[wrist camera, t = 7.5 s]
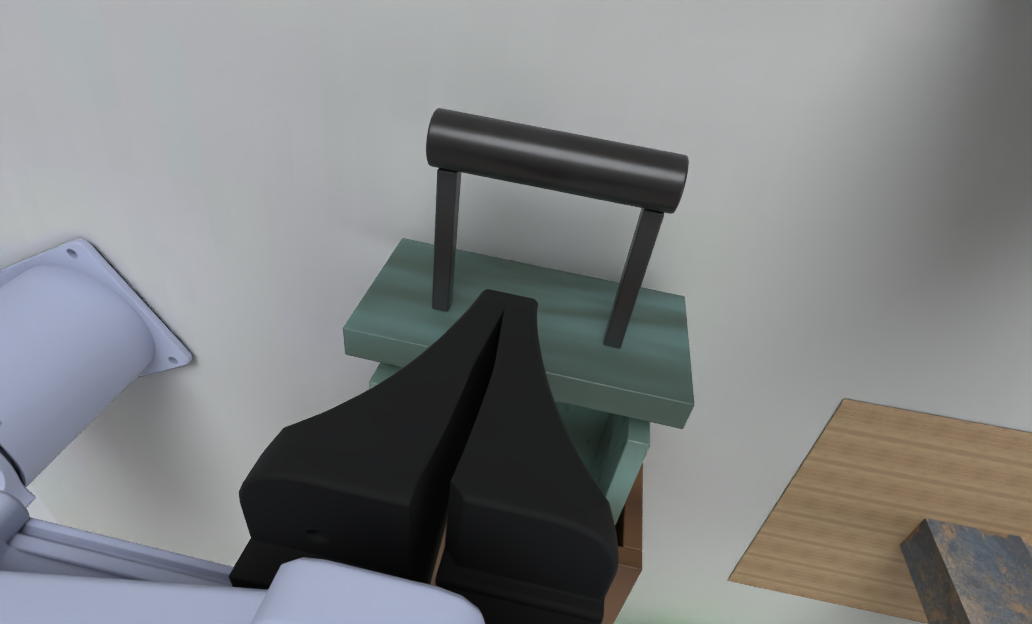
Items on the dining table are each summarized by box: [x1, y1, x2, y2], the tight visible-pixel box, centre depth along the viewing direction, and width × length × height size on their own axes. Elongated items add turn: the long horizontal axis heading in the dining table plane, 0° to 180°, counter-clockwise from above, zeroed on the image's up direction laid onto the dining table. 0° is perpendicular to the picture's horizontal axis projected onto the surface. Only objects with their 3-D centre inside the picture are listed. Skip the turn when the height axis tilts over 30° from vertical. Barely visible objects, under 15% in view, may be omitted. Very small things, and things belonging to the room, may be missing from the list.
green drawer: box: [343, 108, 694, 525], centre depth 22 cm, size 19×11×6 cm, turn 173°
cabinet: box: [430, 463, 643, 624], centre depth 30 cm, size 14×13×8 cm
